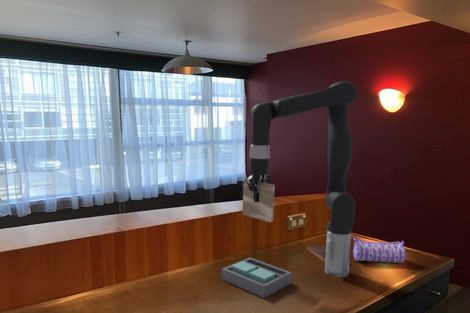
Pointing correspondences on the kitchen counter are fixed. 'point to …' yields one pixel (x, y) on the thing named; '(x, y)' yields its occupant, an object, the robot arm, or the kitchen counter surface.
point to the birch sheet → (265, 204)
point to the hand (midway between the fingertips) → (258, 201)
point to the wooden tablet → (319, 251)
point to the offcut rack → (253, 286)
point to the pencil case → (379, 251)
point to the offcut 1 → (243, 268)
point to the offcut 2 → (261, 275)
